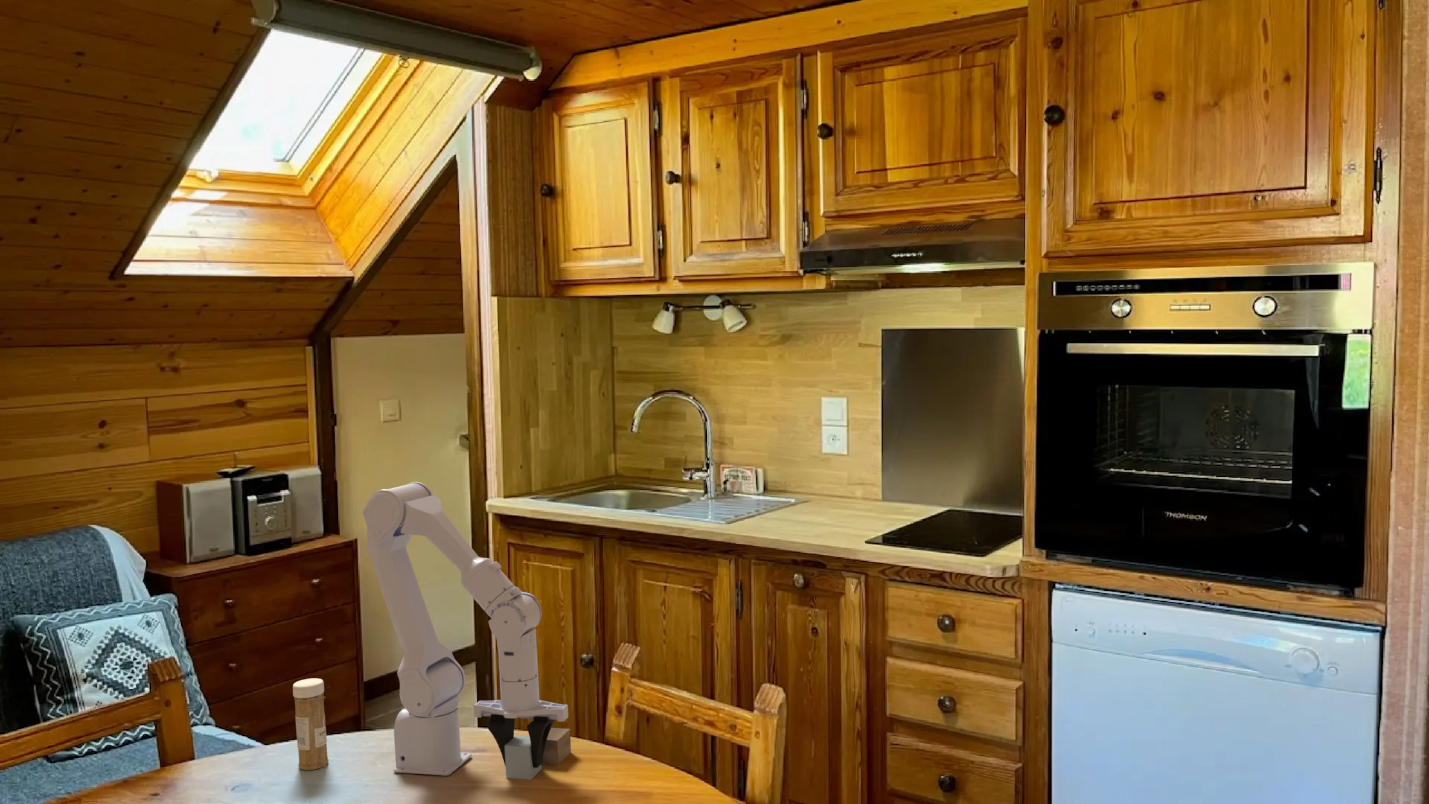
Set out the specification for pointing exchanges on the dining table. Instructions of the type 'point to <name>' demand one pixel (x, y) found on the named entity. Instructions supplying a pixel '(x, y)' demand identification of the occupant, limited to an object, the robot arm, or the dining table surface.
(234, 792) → the dining table surface
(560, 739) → the walnut block
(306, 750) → the sprinkles bottle
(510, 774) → the slate block
